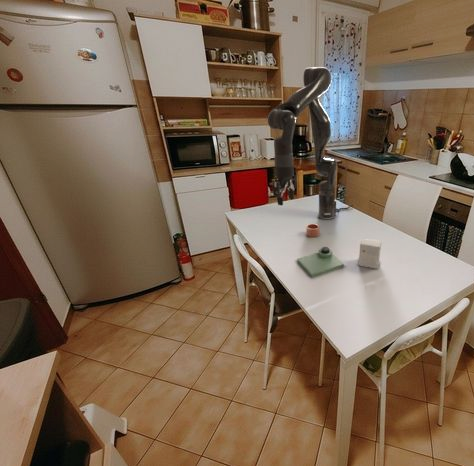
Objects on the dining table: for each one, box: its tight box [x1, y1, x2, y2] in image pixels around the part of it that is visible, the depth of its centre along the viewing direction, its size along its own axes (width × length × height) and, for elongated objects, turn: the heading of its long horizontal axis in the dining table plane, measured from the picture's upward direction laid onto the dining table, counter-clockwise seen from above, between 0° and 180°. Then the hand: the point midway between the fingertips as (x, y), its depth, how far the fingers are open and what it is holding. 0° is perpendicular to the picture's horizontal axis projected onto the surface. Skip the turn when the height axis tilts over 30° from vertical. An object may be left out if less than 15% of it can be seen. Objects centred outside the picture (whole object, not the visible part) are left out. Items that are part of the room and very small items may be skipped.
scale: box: [297, 247, 345, 278], centre depth 110 cm, size 15×13×3 cm
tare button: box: [321, 246, 330, 254], centre depth 114 cm, size 3×3×2 cm
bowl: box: [305, 223, 320, 238], centre depth 133 cm, size 6×6×4 cm
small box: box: [358, 237, 382, 270], centre depth 109 cm, size 8×6×10 cm
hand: (286, 201), depth 114 cm, fingers open, 8 cm apart
